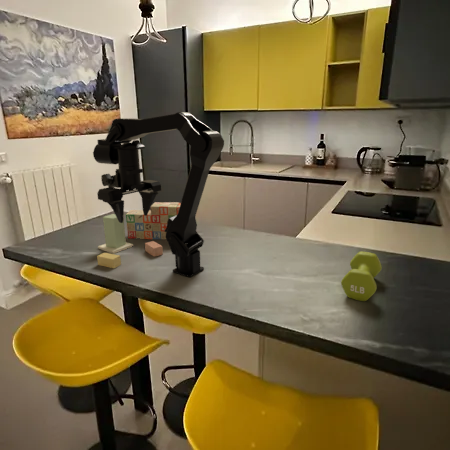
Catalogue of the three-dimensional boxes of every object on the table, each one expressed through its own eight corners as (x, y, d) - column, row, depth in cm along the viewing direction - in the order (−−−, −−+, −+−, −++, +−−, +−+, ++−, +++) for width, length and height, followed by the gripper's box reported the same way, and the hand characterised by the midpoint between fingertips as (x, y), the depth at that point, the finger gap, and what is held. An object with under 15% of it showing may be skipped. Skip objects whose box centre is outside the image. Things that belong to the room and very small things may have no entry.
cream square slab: (133, 248, 114) (133, 244, 113) (113, 255, 108) (113, 251, 107) (118, 243, 118) (118, 239, 118) (98, 250, 112) (97, 246, 112)
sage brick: (125, 244, 113) (123, 215, 111) (116, 248, 109) (113, 218, 107) (115, 242, 115) (112, 213, 112) (105, 246, 111) (102, 217, 108)
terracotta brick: (162, 254, 107) (162, 246, 106) (154, 257, 105) (153, 248, 104) (153, 249, 111) (153, 241, 110) (145, 251, 110) (144, 243, 109)
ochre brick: (121, 265, 100) (120, 255, 99) (114, 268, 97) (113, 259, 96) (105, 261, 102) (104, 252, 101) (98, 265, 99) (97, 256, 98)
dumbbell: (350, 271, 95) (353, 248, 93) (380, 278, 91) (384, 253, 89) (337, 297, 81) (340, 270, 79) (373, 306, 77) (377, 278, 75)
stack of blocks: (127, 239, 121) (124, 205, 117) (133, 233, 127) (130, 201, 123) (186, 240, 120) (185, 206, 116) (189, 234, 126) (188, 202, 122)
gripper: (135, 160, 106) (139, 208, 110) (81, 166, 91) (89, 221, 96) (161, 162, 100) (163, 213, 104) (107, 170, 85) (114, 229, 90)
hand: (133, 218), depth 99 cm, fingers open, 9 cm apart
